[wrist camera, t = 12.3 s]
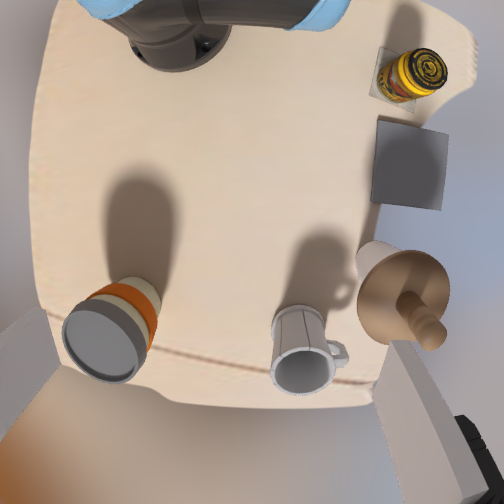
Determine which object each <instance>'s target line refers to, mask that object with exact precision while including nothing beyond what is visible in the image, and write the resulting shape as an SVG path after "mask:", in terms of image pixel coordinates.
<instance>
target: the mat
mask: <svg viewBox="0 0 504 504" xmlns="http://www.w3.org/2000/svg"><path fill="white" fill-rule="evenodd" d="M448 139H449V135H448V134H444V133H440V132H435V131H431V130H427V129H422V128H418V127H413V126H408V125H403V124H398V123H393V122H387V121H382V120H377V132H376V148H375V161H374V172H373V183H372V192H371V202H375V203H384V204H392V205H401V206H409V207H417V208H424V209H432V210H439V211H441V206H442V200H443V192H444V184H445V175H446V165H447V153H448Z"/></svg>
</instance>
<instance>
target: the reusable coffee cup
mask: <svg viewBox="0 0 504 504" xmlns="http://www.w3.org/2000/svg"><path fill="white" fill-rule="evenodd" d="M160 310H161V301H160V297H159V295H158V293H157V291H156V290H155V288H154V287H153V286H152V285H151V284H150V283H148V282H147V281H146V280H143V279H141V278H138V277H126V278H124V279H122V280H120V281H118V282H117V283H113V284H110V285H107V286H105V287H103V288H102V289H100V290H98V291H97V292H95V293H93V294H92V295H90V296H89V297H88V298H87V299H86V300H85V301H82V302H80V303H79V304H77V305H76V306H75V308H74V309H73V310H72V311H71V313H70V314H69V315H68V317H67V318H66V319H65V321H64V323H63V326H62V340H63V343H64V346H65V349H66V351H67V353H68V354H69V356H70V358H71V359H72V360H73V362H74V363H75V364H76V365H77V366H78V367H79V368H80V369H81V370H82V371H83V372H85V373H86V374H88V375H89V376H91V377H92V378H94V379H96V380H99V381H101V382H104V383H109V384H121V383H125V382H127V381H129V380H130V379H132V378H133V377H134V376H135V374H136V373H137V372H138V370H139V369H140V368H141V366H142V365H143V364H144V362H145V359H146V356H147V352H148V351H149V349H150V347H151V344H152V341H153V338H154V335H155V332H156V329H157V322H158V321H157V319H158V316H159V313H160Z"/></svg>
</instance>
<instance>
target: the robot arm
mask: <svg viewBox="0 0 504 504" xmlns="http://www.w3.org/2000/svg"><path fill="white" fill-rule="evenodd" d="M350 1H351V0H77V2H78V3H79V4H80V5H81V6H82V7H84V8H85V9H86V10H87V11H88V12H89V13H90V15H91V16H93V17H94V18H98V19H100V20H102V21H104V22H105V23H107V24H108V25H110V26H112V27H113V28H115V29H116V30H118V31H119V32H121V33H123V34H124V35H126V36H127V37H128V39H129V43H130V46H131V48H132V50H133V52H134V53H135V55H136V56H137V57H138V58H139V59H140V60H141V61H142V62H144V63H145V64H147V65H148V66H150V67H152V68H154V69H156V70H159V71H163V72H183V71H188V70H191V69H194V68H197V67H199V66H201V65H203V64H204V63H206V62H208V61H209V60H210V59H212V58H213V57H214V56H215V55H216V54H217V53H218V52H219V51H220V50H221V49H222V48H223V46H224V45H225V43H226V41H227V39H228V37H229V34H230V31H231V25H245V26H261V27H274V28H283V29H284V30H287V31H291V30H293V31H294V30H307V31H316V32H320V31H324V30H327V29H331V28H332V27H334V26H335V25H336V24H337V23H338V22H339V21H340V19H341V18H342V17H343V15H344V13H345V12H346V10H347V8H348V6H349V4H350ZM60 365H61V362H60V359H59V356H58V353H57V349H56V346H55V343H54V339H53V336H52V332H51V329H50V325H49V321H48V317H47V313H46V310H44V309H39V308H35V307H32V308H31V309H30V310H28V311H27V312H26V313H25V314H24V315H22V316H21V317H20V318H19V319H17V320H16V321H15V322H14V323H13V324H12V325H10V326H9V327H8V328H7V329H6V330H4V331H3V332H2V333H1V334H0V441H1V440H2V439H3V437H4V436H5V435H6V433H7V432H8V430H9V429H10V428H11V427H12V425H13V424H14V423H15V421H16V420H17V419H18V417H19V416H20V415H21V413H22V412H23V411H24V409H25V408H26V407H27V406H28V404H29V403H30V402H31V401H32V399H33V398H34V397H35V396H36V394H37V393H38V392H39V391H40V389H41V388H42V387H43V386H44V384H45V383H46V382H47V380H48V379H49V378H50V377H51V376H52V374H53V373H54V372H55V371H56V370H57V369H58V367H59V366H60ZM372 398H373V401H374V404H375V407H376V410H377V413H378V416H379V419H380V422H381V426H382V429H383V432H384V435H385V438H386V442H387V445H388V448H389V452H390V455H391V458H392V462H393V465H394V468H395V472H396V476H397V479H398V483H399V486H400V490H401V493H402V497H403V501H404V504H504V480H503V478H502V476H501V474H500V472H499V470H498V468H497V466H496V464H495V462H494V460H493V458H492V456H491V454H490V452H489V450H488V449H486V444H485V442H484V441H483V439H481V435H480V433H479V431H478V430H477V428H476V426H475V424H474V423H472V422H471V421H470V420H469V419H468V418H467V417H466V416H464V415H459V416H455V417H454V416H453V415H452V413H451V411H450V409H449V407H448V405H447V404H446V402H445V400H444V398H443V396H442V395H441V393H440V391H439V389H438V387H437V386H436V384H435V382H434V380H433V379H432V377H431V375H430V374H429V372H428V370H427V368H426V367H425V365H424V363H423V362H422V360H421V358H420V357H419V355H418V353H417V352H416V350H415V348H414V347H413V345H412V343H411V342H410V340H390V344H389V347H388V351H387V354H386V357H385V360H384V364H383V367H382V370H381V373H380V376H379V379H378V382H377V385H376V388H375V390H374V393H373V396H372Z"/></svg>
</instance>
